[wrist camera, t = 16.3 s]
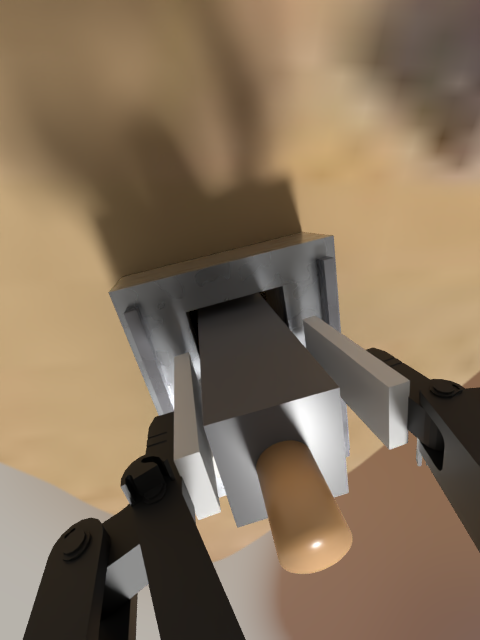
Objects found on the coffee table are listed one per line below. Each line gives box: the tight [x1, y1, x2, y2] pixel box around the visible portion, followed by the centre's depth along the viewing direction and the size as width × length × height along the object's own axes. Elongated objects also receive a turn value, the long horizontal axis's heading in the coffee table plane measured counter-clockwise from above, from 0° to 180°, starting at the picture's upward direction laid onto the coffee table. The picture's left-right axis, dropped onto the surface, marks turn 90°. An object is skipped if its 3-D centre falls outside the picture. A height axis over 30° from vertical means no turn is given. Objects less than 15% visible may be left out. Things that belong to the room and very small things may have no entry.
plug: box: [197, 293, 353, 574], centre depth 13 cm, size 4×4×14 cm
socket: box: [109, 232, 350, 497], centre depth 19 cm, size 16×12×5 cm
